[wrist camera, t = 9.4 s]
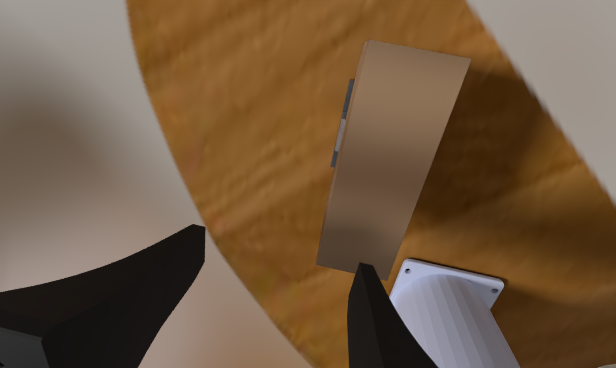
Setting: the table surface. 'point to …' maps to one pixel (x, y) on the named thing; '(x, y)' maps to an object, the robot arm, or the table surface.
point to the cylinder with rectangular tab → (608, 366)
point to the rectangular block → (386, 152)
